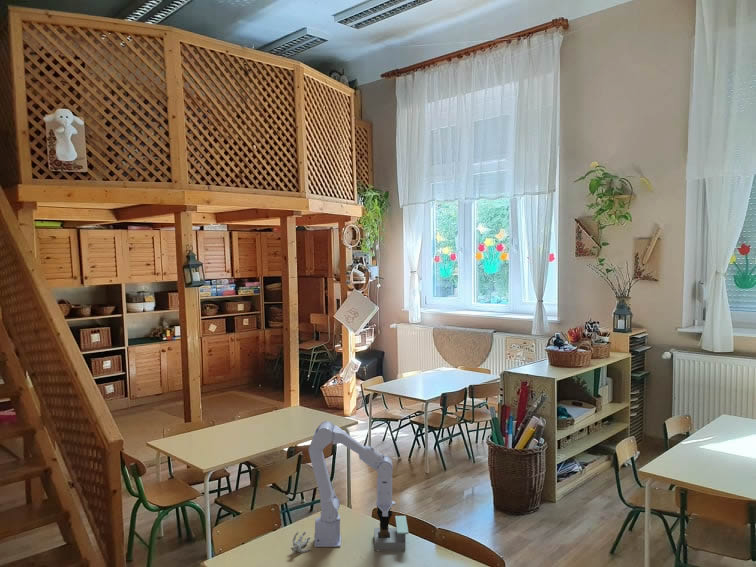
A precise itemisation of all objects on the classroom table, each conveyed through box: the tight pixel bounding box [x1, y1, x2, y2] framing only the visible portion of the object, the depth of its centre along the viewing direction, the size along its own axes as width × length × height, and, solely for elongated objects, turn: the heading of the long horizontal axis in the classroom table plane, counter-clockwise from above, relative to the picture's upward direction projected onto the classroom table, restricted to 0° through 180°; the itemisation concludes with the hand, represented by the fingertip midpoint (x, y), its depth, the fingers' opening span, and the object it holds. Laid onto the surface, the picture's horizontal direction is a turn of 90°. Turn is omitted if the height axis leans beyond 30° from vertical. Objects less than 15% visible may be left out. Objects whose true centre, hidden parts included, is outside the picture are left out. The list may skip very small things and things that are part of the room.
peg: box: [379, 523, 388, 537], centre depth 203 cm, size 3×3×9 cm
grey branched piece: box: [290, 531, 312, 554], centre depth 199 cm, size 8×5×12 cm
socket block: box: [373, 515, 409, 552], centre depth 204 cm, size 12×13×7 cm
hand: (384, 526), depth 203 cm, fingers closed on peg, 3 cm apart
